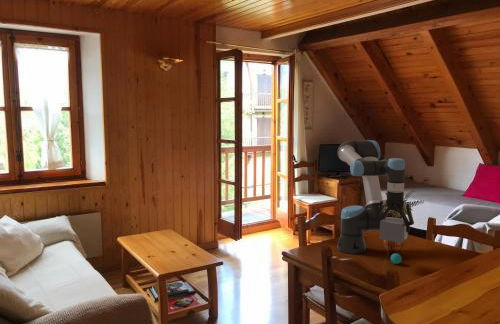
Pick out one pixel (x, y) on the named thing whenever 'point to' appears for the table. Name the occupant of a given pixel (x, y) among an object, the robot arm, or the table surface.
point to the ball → (396, 258)
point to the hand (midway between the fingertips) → (393, 236)
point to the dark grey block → (392, 229)
